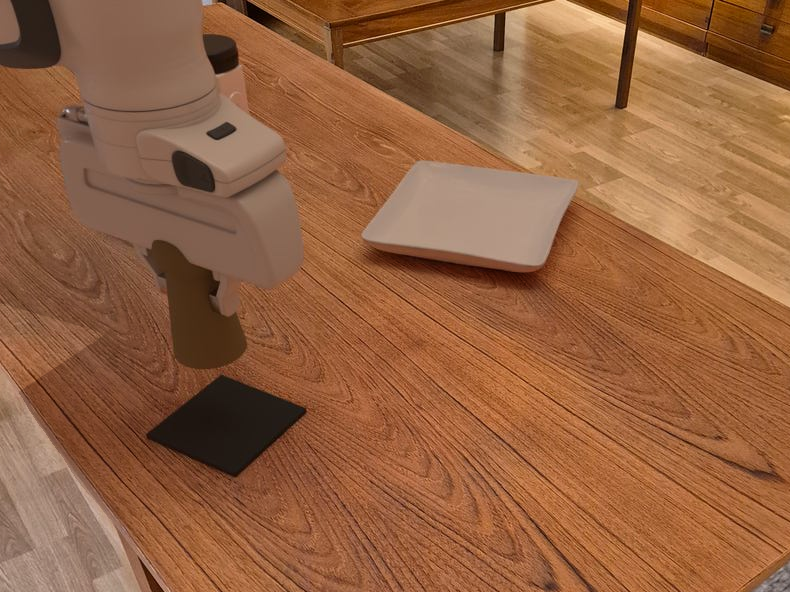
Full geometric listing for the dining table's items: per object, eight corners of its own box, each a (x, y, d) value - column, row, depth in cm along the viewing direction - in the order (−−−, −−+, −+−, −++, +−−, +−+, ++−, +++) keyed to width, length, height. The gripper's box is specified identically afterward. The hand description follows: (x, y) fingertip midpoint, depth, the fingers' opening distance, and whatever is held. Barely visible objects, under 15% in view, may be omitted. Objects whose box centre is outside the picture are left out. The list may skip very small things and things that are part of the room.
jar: (221, 153, 120) (203, 60, 112) (176, 139, 123) (156, 47, 115) (264, 130, 126) (251, 40, 118) (221, 117, 129) (205, 28, 120)
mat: (146, 438, 79) (145, 434, 78) (222, 378, 85) (221, 374, 85) (235, 477, 75) (234, 473, 75) (306, 412, 82) (306, 407, 81)
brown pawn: (261, 348, 74) (239, 227, 67) (199, 379, 71) (168, 256, 64) (221, 318, 77) (195, 200, 70) (159, 347, 74) (125, 226, 67)
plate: (358, 262, 101) (356, 235, 98) (418, 181, 115) (417, 155, 113) (541, 293, 97) (543, 265, 94) (578, 204, 112) (581, 178, 109)
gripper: (16, 113, 63) (74, 283, 72) (244, 181, 56) (275, 359, 66) (84, 84, 67) (131, 249, 77) (304, 144, 60) (325, 317, 70)
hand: (199, 301), depth 71 cm, fingers closed on brown pawn, 4 cm apart
